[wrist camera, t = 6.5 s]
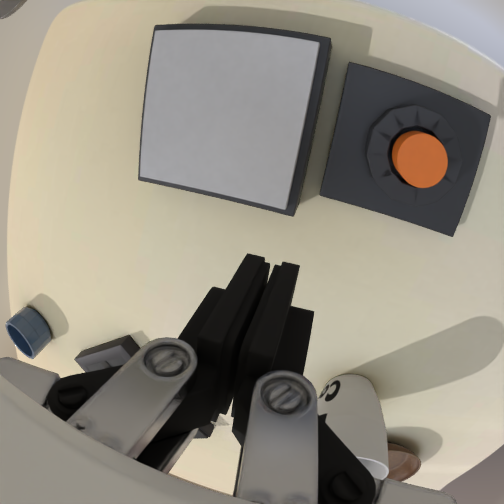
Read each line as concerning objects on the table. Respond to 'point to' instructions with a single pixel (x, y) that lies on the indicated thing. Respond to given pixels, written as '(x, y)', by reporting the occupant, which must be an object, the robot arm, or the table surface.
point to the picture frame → (115, 356)
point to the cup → (357, 420)
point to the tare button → (420, 159)
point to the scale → (232, 111)
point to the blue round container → (29, 332)
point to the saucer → (401, 462)
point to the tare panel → (383, 139)
